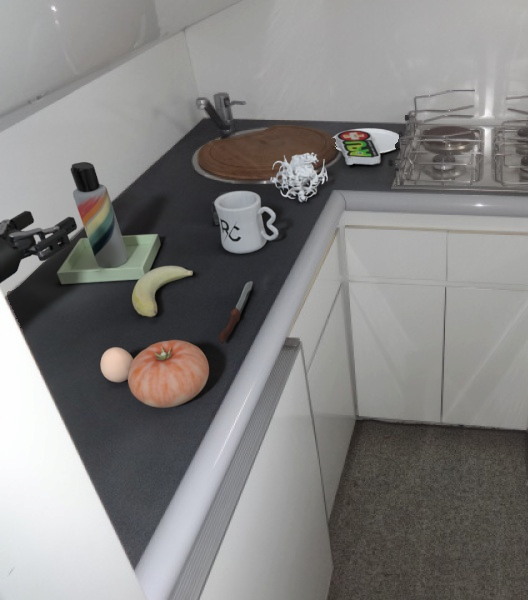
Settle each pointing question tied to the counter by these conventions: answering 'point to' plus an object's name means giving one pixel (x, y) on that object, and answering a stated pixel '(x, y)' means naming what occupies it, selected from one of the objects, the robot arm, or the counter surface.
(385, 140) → the plate
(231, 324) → the knife
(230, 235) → the mug
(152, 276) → the fruit
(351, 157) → the sign
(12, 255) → the robot arm
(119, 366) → the egg
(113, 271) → the green tray
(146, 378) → the tomato
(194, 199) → the counter surface
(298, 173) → the figurine
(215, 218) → the reflex sight
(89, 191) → the lotion bottle
